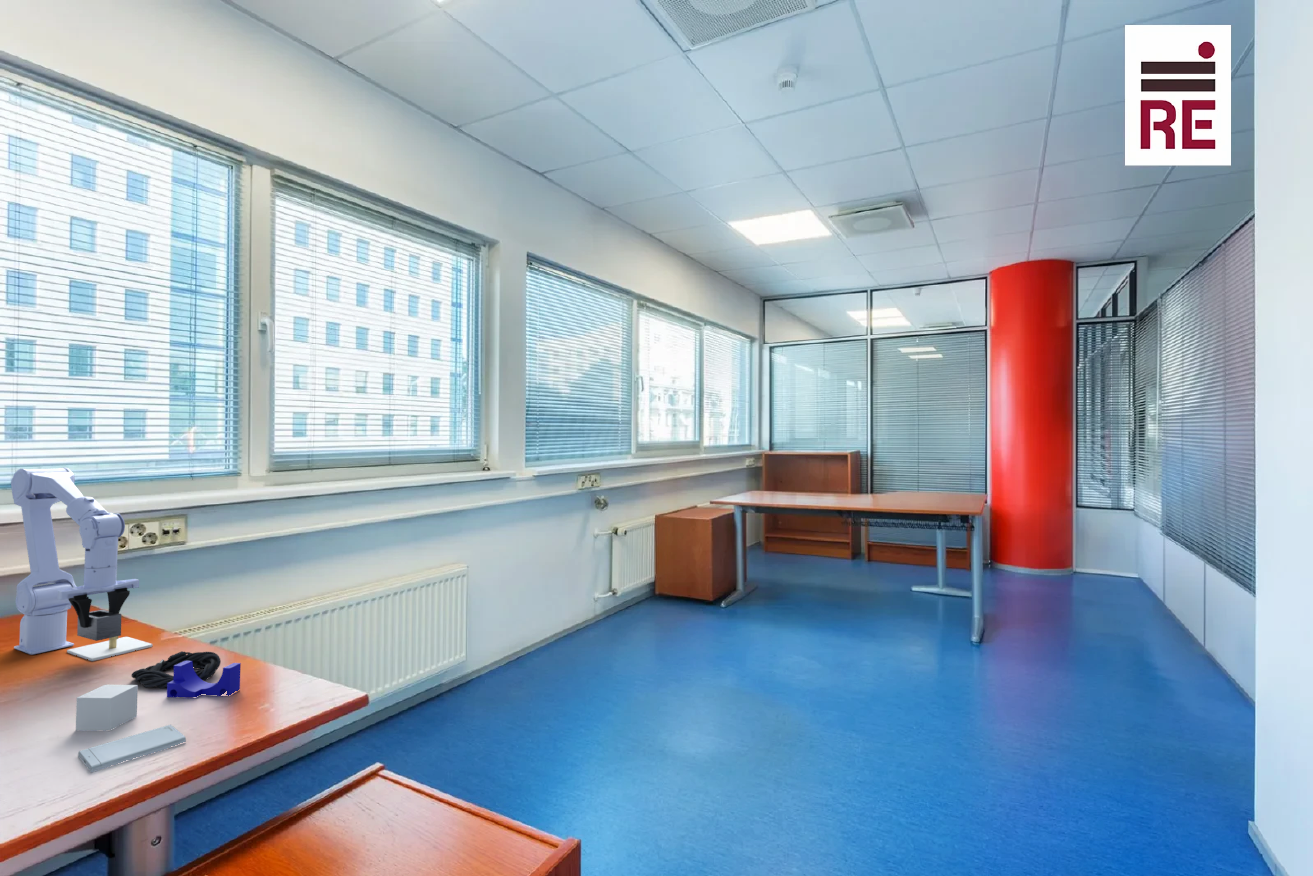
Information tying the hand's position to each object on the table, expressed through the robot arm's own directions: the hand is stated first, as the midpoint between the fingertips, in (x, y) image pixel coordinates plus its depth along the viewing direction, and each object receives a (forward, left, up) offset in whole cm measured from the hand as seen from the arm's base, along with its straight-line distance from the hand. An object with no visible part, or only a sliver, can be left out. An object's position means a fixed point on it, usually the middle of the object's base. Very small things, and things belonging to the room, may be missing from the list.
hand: (98, 624), depth 145 cm
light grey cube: (+40, -15, -9) cm, 44 cm away
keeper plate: (-6, +5, -8) cm, 11 cm away
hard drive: (+55, -18, -9) cm, 59 cm away
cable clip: (+41, +1, -9) cm, 42 cm away
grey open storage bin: (+1, 0, -3) cm, 3 cm away
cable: (+27, +3, -9) cm, 29 cm away
